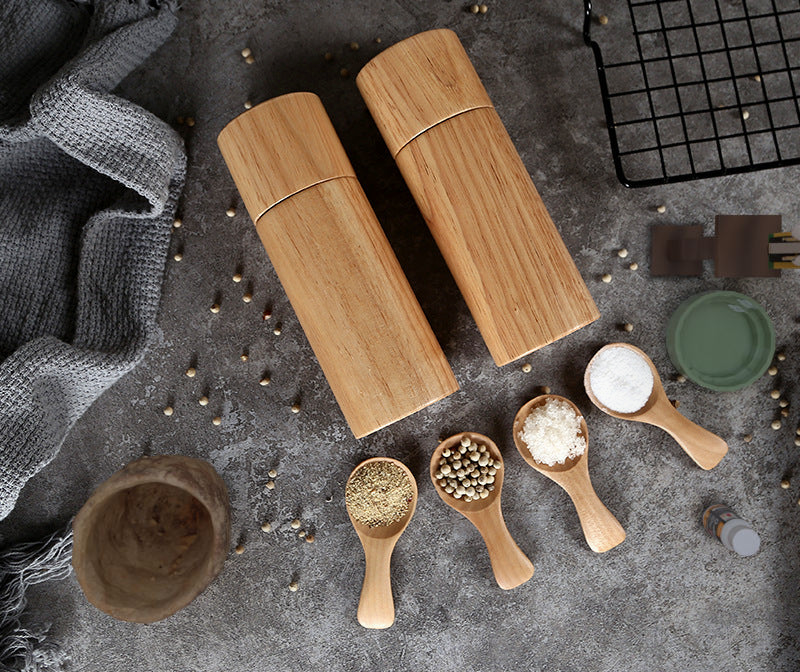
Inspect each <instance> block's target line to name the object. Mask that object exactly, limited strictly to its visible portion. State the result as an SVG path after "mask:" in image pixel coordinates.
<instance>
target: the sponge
mask: <svg viewBox="0 0 800 672" xmlns="http://www.w3.org/2000/svg"><path fill="white" fill-rule="evenodd" d="M781 236H792V235H791V231H783V232H782V233H774V234H768V244H769V239H770V237H781ZM792 237H793V236H792ZM795 243H798V242H795ZM795 256H798V253H795ZM792 261H793V260H792ZM768 268H769V269H781V270H782V269H783V270H784V269H785V270H786V269H787V270H788V269H789V270H791V269H792V270H793V269H794V270H795V269H800V266H797V265H795V264H793V263H792V262H770V261H769V255H768Z"/></svg>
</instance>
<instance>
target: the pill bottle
mask: <svg viewBox="0 0 800 672" xmlns="http://www.w3.org/2000/svg"><path fill="white" fill-rule="evenodd" d="M702 524H703V527H704V529H705V530H706V531H707V532H708V533H709V534H710V535H711V536H712V537H713V538H714V539H716V541H718V542H719V543H720V544H721V545H722V546H723V547H725V548H726V549H727V550H728V551H732V552H735V553H736V554H738V555H740V556H743V557H750V556H753V555H754V554H756V553H757V552H758V550H759V549H760V546H761V539H760V537H759V536H760V535H759V534H758V533H757V532H756V531H755V530H754V529H753V527H752V525H751V524H750V523H749V522H748V521H747V520H746V519H744V517H741V516H740V515H739V514H737V513H736V512H735V511H733V510H732V509H730V508H729V507H727V506H725V505H724V504H719V503H718V504H712V505H711V506H709V507H707V508H706V510H705V511H704V513H703V514H702Z"/></svg>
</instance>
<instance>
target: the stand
mask: <svg viewBox="0 0 800 672" xmlns="http://www.w3.org/2000/svg"><path fill="white" fill-rule="evenodd" d="M782 231H783V215H782V214H715V215H714V235H709V236H704V226H703V225H696V224H695V225H694V224H693V225H691V224H690V225H687V224H685V225H684V224H683V225H682V224H679V225H677V224H675V225H672V224H669V225H668V224H667V225H666V224H665V225H663V224H661V225H659V224H657V225H656V224H654V225H650V257H649V258H650V259H649V260H650V263H649V265H650V266H649V267H650V270H649V271H650V272H649V275H650V276H703V271H704V270H703V269H704V267H703V266H704V265H703V264H704V262H703V261H714V278H719V279H720V278H721V279H722V278H724V279H725V278H731V279H732V278H737V279H739V278H744V279H746V278H749V279H751V278H753V279H756V278H759V279H760V278H762V279H766V278H767V279H768V278H769V279H770V278H771V279H774V278H775V279H776V278H777V279H781V278H782V269H769V268H768V253H767V247H768V234H774V233H783V232H782Z"/></svg>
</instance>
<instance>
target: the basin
mask: <svg viewBox="0 0 800 672" xmlns="http://www.w3.org/2000/svg"><path fill="white" fill-rule="evenodd" d="M665 348H666V350H667V354H668V357H669V359H670V362H671V364H672V365H673V367H674V368H675V369H676V370H677V372H678V373H679V374H680V376H681V377H684V378H685V379H686V380H688V381H689V382H691V383H693V384H695V385H697V386H700V387H702V388H705V389H708V390H712V391H715V392H736V391H738V390H741V389H744V388H748V387H750V386H751V385H752V384H754V383H755V382H757V381H758V380H759V379H761V378H762V377H763V376H764V374H765V372H766V371H767V370H768V368H769V367H770V365H771V363H772V360H773V358H774V355H775V352H776V331H775V327H774V324H773V321H772V318H771V316H770V315H769V314H768V312H767V311H766V309H764V306H762V304H760V303H759V302H758V301H756V300H755V299H753V298H752V297H751V296H749V295H746V294H744V293H741V292H737V291H735V290H723V289H718V290H717V289H715V290H714V289H713V290H712V289H710V290H709V289H708V290H703V291H701V292H698V293H695V294H692V295H691V296H689V297H688V298H686V299H685V300H683V301H682V302H680V304H679V305H678V306H677V308H676V309H675V310H674V312H673V313H672V314H671V316H670V317H669V322H668V323H667V328H666V331H665Z"/></svg>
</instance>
